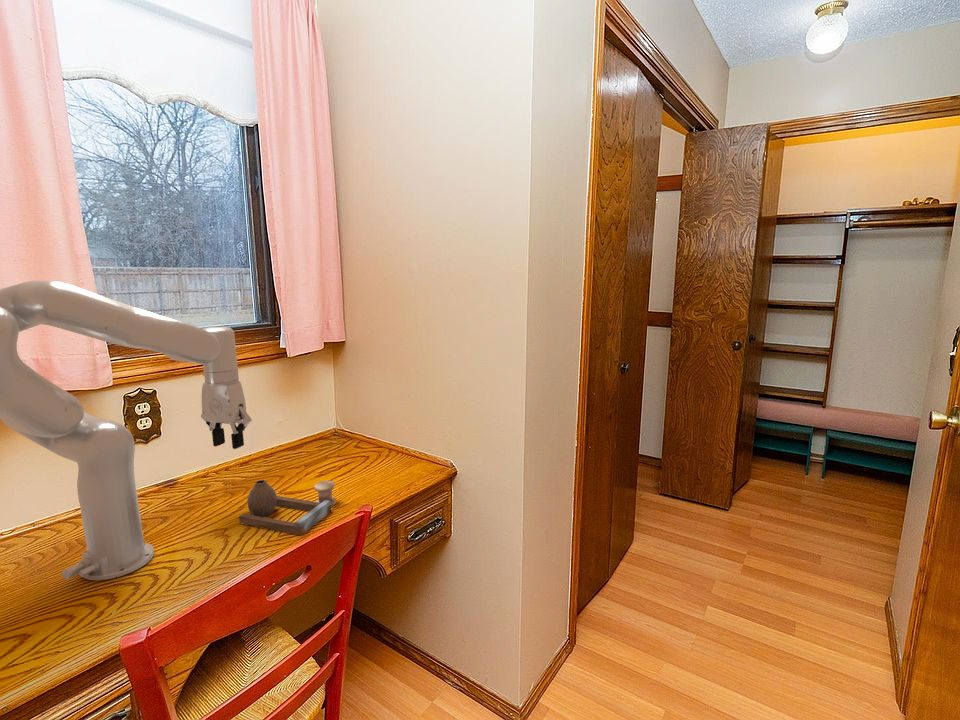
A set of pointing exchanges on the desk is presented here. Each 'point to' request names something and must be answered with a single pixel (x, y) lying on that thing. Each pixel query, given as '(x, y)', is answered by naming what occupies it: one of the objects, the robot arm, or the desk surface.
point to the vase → (262, 499)
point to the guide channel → (297, 528)
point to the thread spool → (325, 491)
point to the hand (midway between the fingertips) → (228, 445)
